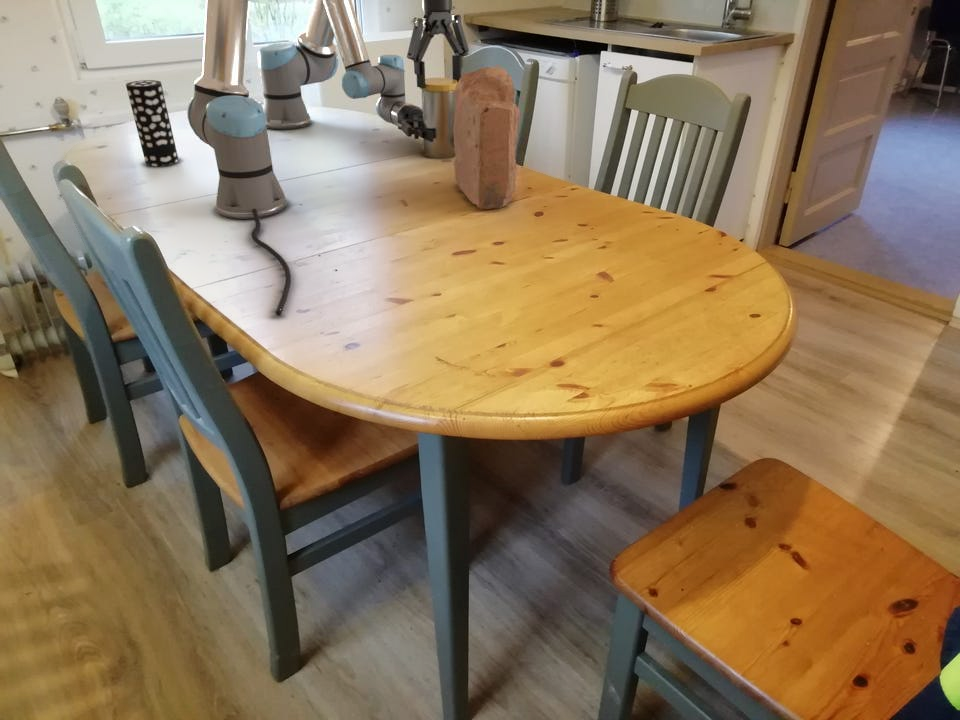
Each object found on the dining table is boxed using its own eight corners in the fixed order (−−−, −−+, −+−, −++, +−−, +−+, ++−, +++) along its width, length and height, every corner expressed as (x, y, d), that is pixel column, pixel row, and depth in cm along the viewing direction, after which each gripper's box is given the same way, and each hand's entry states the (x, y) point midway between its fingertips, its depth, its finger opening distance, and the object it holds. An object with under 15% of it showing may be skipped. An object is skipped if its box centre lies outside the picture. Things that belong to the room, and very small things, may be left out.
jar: (437, 160, 191) (436, 88, 180) (417, 153, 196) (414, 82, 186) (463, 154, 196) (462, 83, 186) (442, 147, 202) (441, 78, 191)
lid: (435, 93, 181) (435, 86, 180) (412, 87, 187) (412, 80, 186) (465, 88, 186) (465, 82, 185) (441, 82, 193) (441, 76, 192)
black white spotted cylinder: (184, 157, 190) (167, 80, 179) (169, 166, 183) (151, 87, 172) (155, 156, 190) (136, 79, 179) (139, 165, 183) (119, 86, 172)
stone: (526, 207, 159) (530, 77, 145) (480, 212, 156) (479, 80, 142) (495, 182, 177) (496, 64, 162) (453, 186, 174) (450, 66, 159)
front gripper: (407, -3, 165) (411, 92, 177) (482, -8, 179) (481, 80, 190) (389, -5, 170) (395, 88, 182) (463, -11, 183) (464, 76, 195)
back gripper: (440, 125, 212) (481, 142, 197) (376, 135, 202) (413, 153, 186) (440, 100, 208) (481, 115, 193) (374, 108, 198) (412, 125, 182)
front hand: (439, 84), depth 186 cm, fingers open, 11 cm apart
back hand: (447, 134), depth 190 cm, fingers closed on jar, 9 cm apart
